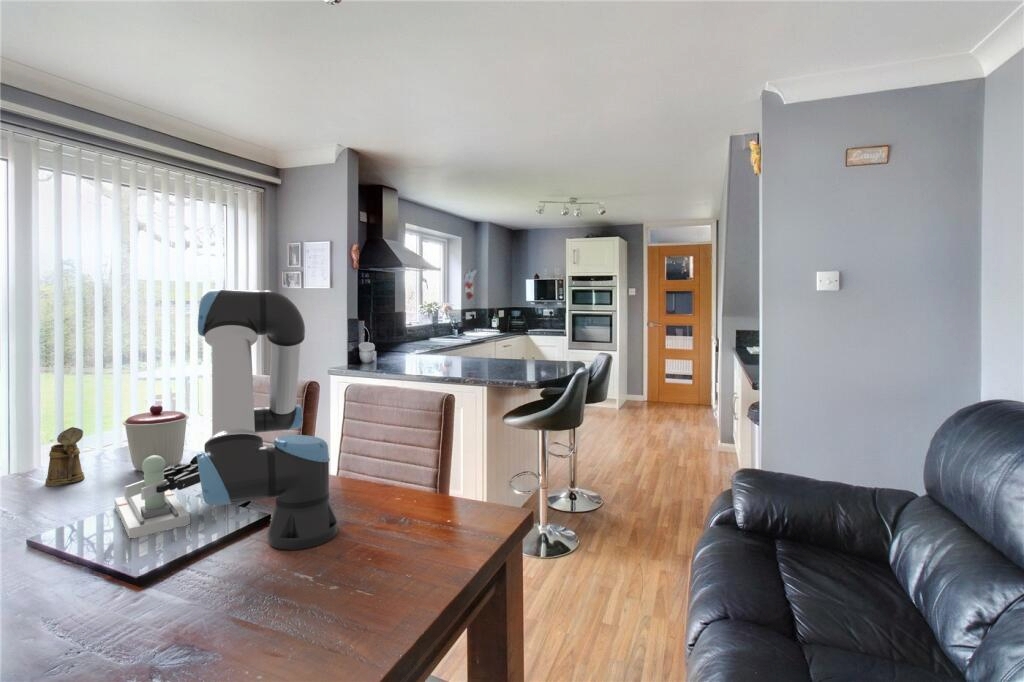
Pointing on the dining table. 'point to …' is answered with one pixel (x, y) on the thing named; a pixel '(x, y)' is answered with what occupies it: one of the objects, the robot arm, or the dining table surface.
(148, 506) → the fader knob
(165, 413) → the canister
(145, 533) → the fader console
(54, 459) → the wooden mug
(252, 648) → the dining table surface
